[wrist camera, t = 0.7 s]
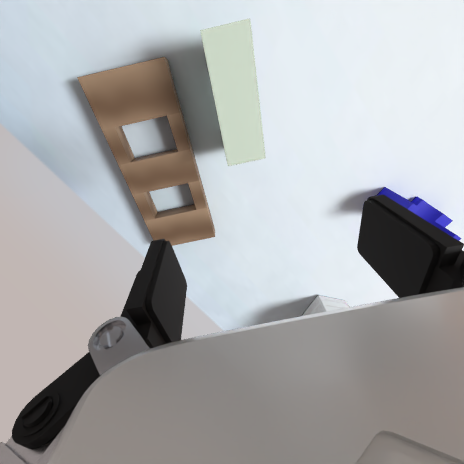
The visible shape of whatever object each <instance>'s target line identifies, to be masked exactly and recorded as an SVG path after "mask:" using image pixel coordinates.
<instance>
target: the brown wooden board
mask: <svg viewBox="0 0 464 464" xmlns="http://www.w3.org/2000/svg"><path fill="white" fill-rule="evenodd" d="M77 78H78V80H79V82H80V84H81V86H82V89H83V91H84V93H85V95H86V97H87V99H88V101H89V104H90V106H91V108H92V110H93V112H94V114H95V116H96V118H97V121H98V123H99V125H100V127H101V129H102V131H103V133H104V136H105V138H106V140H107V142H108V144H109V146H110V148H111V151H112V153H113V155H114V157H115V159H116V161H117V163H118V165H119V168H120V170H121V172H122V174H123V176H124V178H125V180H126V183H127V185H128V187H129V189H130V191H131V193H132V195H133V198H134V200H135V202H136V204H137V206H138V208H139V210H140V212H141V215H142V217H143V219H144V221H145V223H146V225H147V227H148V230H149V232H150V234H151V236H152V238H153V240H159V239H165V240H166V241H170V243H171V245H172V246H173V245H178V244H182V243H187V242H192V241H197V240H202V239H206V238H211V237H215V229H214V225H213V221H212V218H211V214H210V211H209V207H208V203H207V200H206V196H205V193H204V189H203V185H202V182H201V178H200V175H199V171H198V168H197V164H196V160H195V157H194V153H193V150H192V146H191V142H190V139H189V135H188V132H187V128H186V124H185V121H184V117H183V114H182V110H181V106H180V103H179V99H178V96H177V92H176V89H175V85H174V81H173V78H172V74H171V71H170V67H169V63H168V60H167V59H166V58H165V57H162V58H157V59H153V60H149V61H145V62H141V63H136V64H132V65H128V66H124V67H120V68H115V69H111V70H107V71H103V72H98V73H94V74H90V75H86V76H82V77H77ZM163 116H167V118H168V121H169V124H170V127H171V131H172V134H173V137H174V140H175V143H176V147H177V149H174V150H170V151H165V152H161V153H156V154H152V155H147V156H143V157H138V158H134V155H133V153H132V150H131V148H130V146H129V143H128V141H127V139H126V136H125V134H124V131H123V129H122V127H121V126H123V125H128V124H132V123H137V122H141V121H145V120H150V119H154V118H158V117H163ZM186 183H188V185H189V188H190V191H191V194H192V198H193V201H194V204H193V205H189V206H184V207H179V208H175V209H170V210H165V211H161V212H157V210H156V207H155V205H154V203H153V200H152V198H151V196H150V193H149V191H154V190H158V189H163V188H167V187H172V186H177V185H181V184H186Z"/></svg>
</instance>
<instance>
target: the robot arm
mask: <svg viewBox="0 0 464 464" xmlns="http://www.w3.org/2000/svg"><path fill="white" fill-rule="evenodd" d="M463 246H464V244H463V243H462V242H460V241H458V240H457V239H455V238H453V237H452V236H450V235H449V234H447V233H445V232H444V231H442V230H440V229H439V228H437V227H436V226H434V225H432V224H431V223H429V222H428V221H426V220H424V219H423V218H421V217H419V216H418V215H416V214H415V213H413V212H411V211H410V210H408V209H406V208H405V207H403V206H402V205H400V204H398V203H397V202H395V201H394V200H392V199H390V198H389V197H387V196H385V195H377V196H372V197H369V198H368V199H367V201H365V202H364V205H363V212H362V219H361V226H360V232H359V239H358V246H357V248H358V252H359V253H360V255H361V256H362V257H363V258H364V259H365V260H366V261H367V262H368V264H369V265H370V266H371V267H372V268H373V269H374V270H375V271H376V272H377V274H378V275H379V276H380V277H381V278H382V279H383V280H384V281H385V282H386V284H387V285H388V286H389V287H390V288H391V289H392V290H393V291H394V292H395V294H396V295H397V296H398V297H399V298H397V299H392V300H386V301H381V302H375V303H370V304H364V305H359V306H353V307H348V308H343V309H337V310H332V311H327V312H321V313H316V314H311V315H305V316H300V317H295V318H289V319H284V320H279V321H274V322H269V323H263V324H258V325H253V326H248V327H243V328H238V329H232V330H227V331H222V332H217V333H213V334H208V335H203V336H198V337H194V338H189V339H184V340H181V333H182V325H183V316H184V307H185V298H186V290H187V283H186V280H185V277H184V275H183V272H182V270H181V267H180V265H179V262H178V260H177V258H176V255H175V253H174V250H173V248H172V245H171V243H170V241H166V240H165V239H159V240H154V241H152V242H151V244H150V247H149V249H148V252H147V255H146V257H145V260H144V263H143V265H142V268H141V270H140V271H139V272H138V273H137V275H136V278H135V281H134V283H133V286H132V288H131V291H130V294H129V296H128V299H127V301H126V304H125V306H124V309H123V312H122V314H121V317H115V318H113V319H110V320H108V321H106V322H105V323H103V324H102V325H101V326H99V327H98V328H97V329H96V330H95V332H94V333H93V334H92V336H91V338H90V340H89V344H88V349H89V353H87V354H86V355H85V356H84V357H83V358H81V359H80V360H79V361H78V362H76V363H75V364H74V365H73V366H72V367H70V368H69V369H68V370H67V371H66V372H65V373H63V374H62V375H61V376H59V377H58V378H57V379H56V380H55V381H53V382H52V383H51V384H50V385H49V386H47V387H46V388H45V389H44V390H42V391H41V392H40V393H39V394H38V395H36V396H35V397H34V398H33V399H32V400H31V401H30V402H29V403H28V404H27V405H26V406H25V408H24V409H23V410H22V411H21V413H20V414H19V416H18V418H17V419H16V421H15V424H14V427H13V430H12V437H11V438H10V439H9V440H8V442H7V443H6V444H5V443H3V442H1V443H0V464H464V251H462V248H463Z"/></svg>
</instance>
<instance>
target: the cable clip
mask: <svg viewBox="0 0 464 464" xmlns="http://www.w3.org/2000/svg"><path fill="white" fill-rule="evenodd" d="M378 195H385V196H387V197H389V198H390V199H392V200H394V201H395V202H397V203H398V204H400V205H402V206H403V207H405V208H406V209H408V210H410V211H411V212H413V213H415V214H416V215H418V216H419V217H421V218H423V219H424V220H426V221H428V222H429V223H431V224H432V225H434V226H436V227H437V228H439V229H440V230H442V231H444V232H445V233H447V234H449V235H450V236H452V237H453V238H455V239H457V240H458V241H459V240H460V239H461V238H460V237H458V236H457V235H456V234H454V233H452V232H451V231H449V230H448V229H446V228H445V227H446V226H447V225H448V224H450V223H451V222H452V220H451V219H450V218H448V217H447V216H446V215H444V214H443V213H441V212H440V211H438V210H437V209H435V208H434V207H432V206H431V205H429V204H428V203H426V202H425V201H424V200H422V199H420V198H418V197H415V198H414V199H413V200H412V201H411V202H410V201H408V200H407V199H405V198H403V197H401V196H400V195H398V194H396V193H394V192H393V191H391V190H389V189H387V188H386V187H384V188H383V189H382V190H381V192H380V193H379V194H378Z"/></svg>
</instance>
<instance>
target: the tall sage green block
mask: <svg viewBox="0 0 464 464" xmlns="http://www.w3.org/2000/svg"><path fill="white" fill-rule="evenodd" d="M200 31H201V37H202V43H203V48H204V53H205V58H206V63H207V68H208V73H209V77H210V82H211V87H212V91H213V96H214V101H215V106H216V111H217V116H218V121H219V126H220V131H221V136H222V141H223V146H224V151H225V155H226V160H227V164H228V166H232V165H237V164H241V163H246V162H250V161H255V160H260V159H264V158H265V149H264V140H263V131H262V121H261V112H260V103H259V94H258V85H257V76H256V67H255V58H254V49H253V40H252V31H251V22H250V19H246V20H241V21H237V22H233V23H229V24H225V25H221V26H216V27H212V28H208V29H204V30H200Z"/></svg>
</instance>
